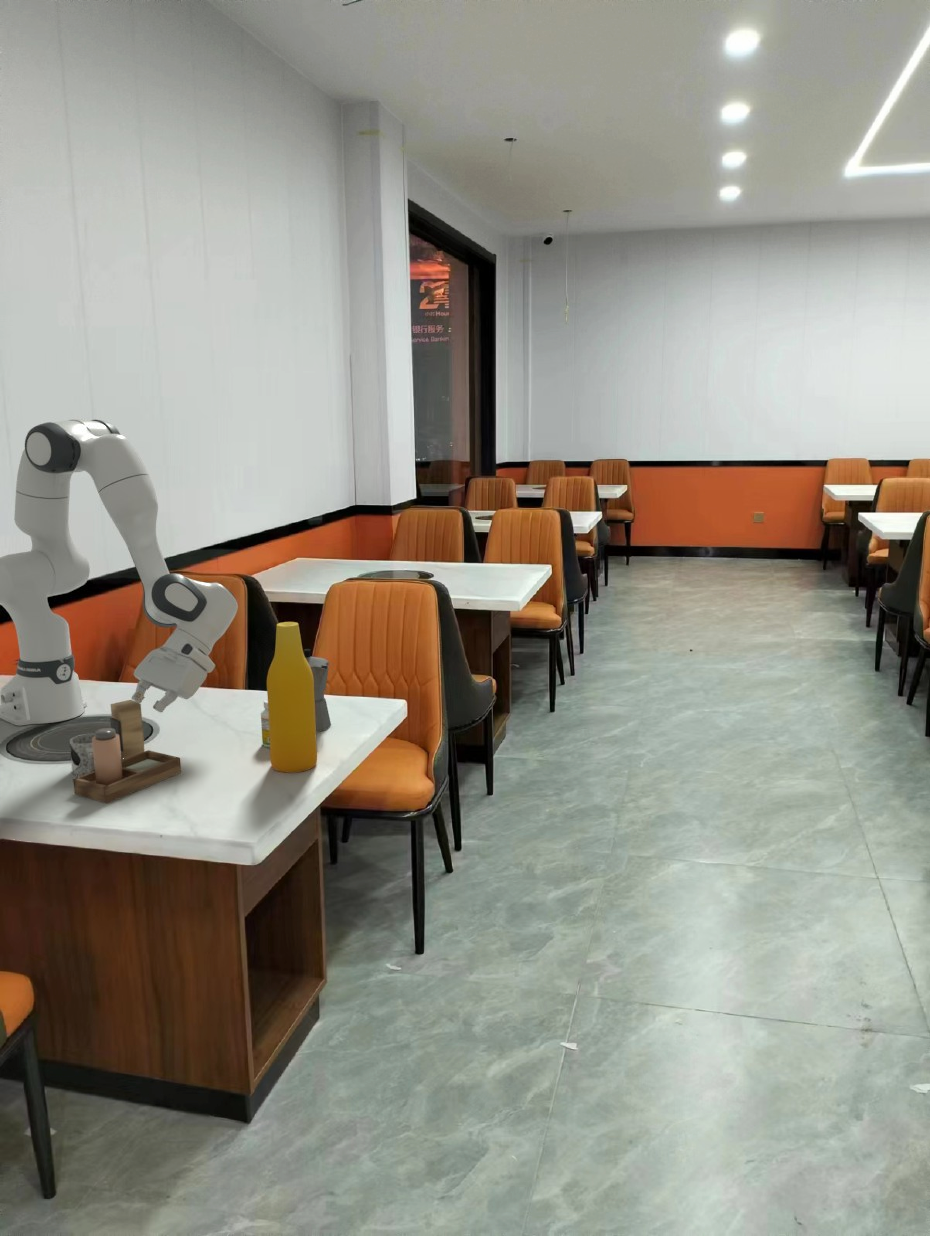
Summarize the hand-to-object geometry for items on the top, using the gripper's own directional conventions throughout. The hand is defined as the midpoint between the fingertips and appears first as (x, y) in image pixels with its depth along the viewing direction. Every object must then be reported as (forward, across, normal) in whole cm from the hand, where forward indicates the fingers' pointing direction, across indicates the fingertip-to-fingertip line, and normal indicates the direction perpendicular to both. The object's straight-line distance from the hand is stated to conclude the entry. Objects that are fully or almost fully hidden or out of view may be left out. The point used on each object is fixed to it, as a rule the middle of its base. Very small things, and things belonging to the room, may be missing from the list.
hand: (145, 705), depth 207 cm
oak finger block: (+10, 0, +4) cm, 11 cm away
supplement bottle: (-8, +16, +22) cm, 28 cm away
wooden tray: (+15, +15, -2) cm, 21 cm away
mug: (+17, +4, -3) cm, 18 cm away
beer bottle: (-4, +30, +18) cm, 35 cm away
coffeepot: (-16, +11, +30) cm, 36 cm away
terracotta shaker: (+17, +16, -6) cm, 24 cm away
